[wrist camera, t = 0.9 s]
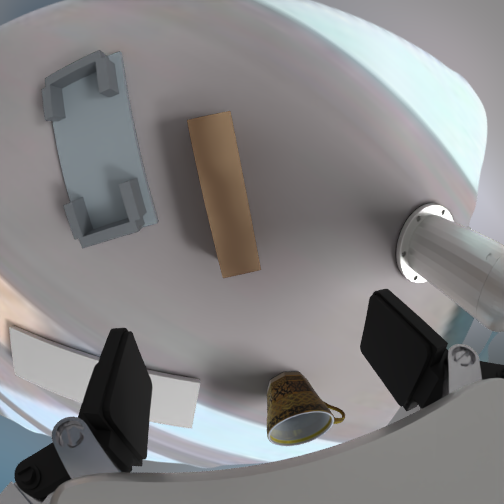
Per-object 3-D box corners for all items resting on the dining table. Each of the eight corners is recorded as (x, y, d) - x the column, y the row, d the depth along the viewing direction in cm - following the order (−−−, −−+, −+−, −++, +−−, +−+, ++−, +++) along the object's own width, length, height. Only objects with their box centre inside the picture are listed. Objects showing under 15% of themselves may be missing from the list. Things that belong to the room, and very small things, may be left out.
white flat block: (22, 318, 35) (26, 364, 35) (9, 326, 30) (15, 375, 30) (199, 368, 42) (191, 412, 43) (200, 383, 37) (191, 428, 38)
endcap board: (121, 53, 22) (111, 42, 18) (158, 221, 30) (151, 230, 26) (51, 86, 21) (35, 81, 18) (86, 242, 29) (74, 253, 26)
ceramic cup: (252, 402, 43) (261, 448, 34) (263, 363, 39) (276, 414, 30) (319, 398, 45) (336, 439, 36) (338, 361, 42) (361, 404, 33)
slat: (227, 117, 27) (230, 110, 22) (254, 252, 33) (261, 269, 28) (191, 125, 27) (186, 120, 22) (221, 259, 33) (222, 278, 28)
